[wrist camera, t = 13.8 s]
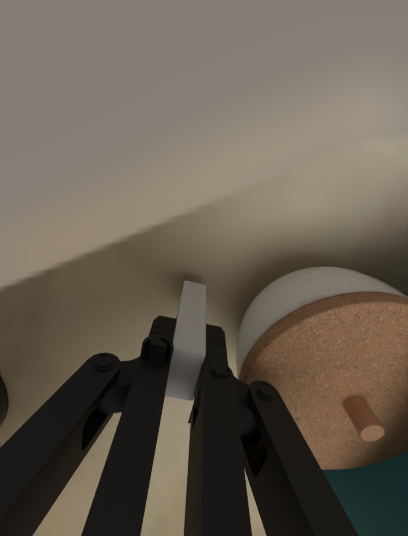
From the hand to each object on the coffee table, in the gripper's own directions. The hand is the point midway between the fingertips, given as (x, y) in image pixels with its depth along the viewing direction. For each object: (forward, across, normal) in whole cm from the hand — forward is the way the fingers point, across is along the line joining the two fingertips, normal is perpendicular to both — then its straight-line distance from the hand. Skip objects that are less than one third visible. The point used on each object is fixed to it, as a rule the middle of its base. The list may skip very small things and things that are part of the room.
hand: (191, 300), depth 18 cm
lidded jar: (+2, +8, 0) cm, 8 cm away
